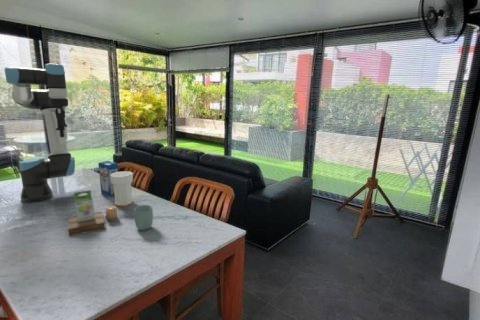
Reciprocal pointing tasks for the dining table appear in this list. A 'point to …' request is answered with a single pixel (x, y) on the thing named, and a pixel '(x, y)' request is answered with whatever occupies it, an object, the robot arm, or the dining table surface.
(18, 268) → the dining table surface
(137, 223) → the cup
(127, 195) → the cup
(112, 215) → the wooden peg
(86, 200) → the ink box
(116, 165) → the milk carton
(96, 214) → the podium
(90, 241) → the dining table surface
